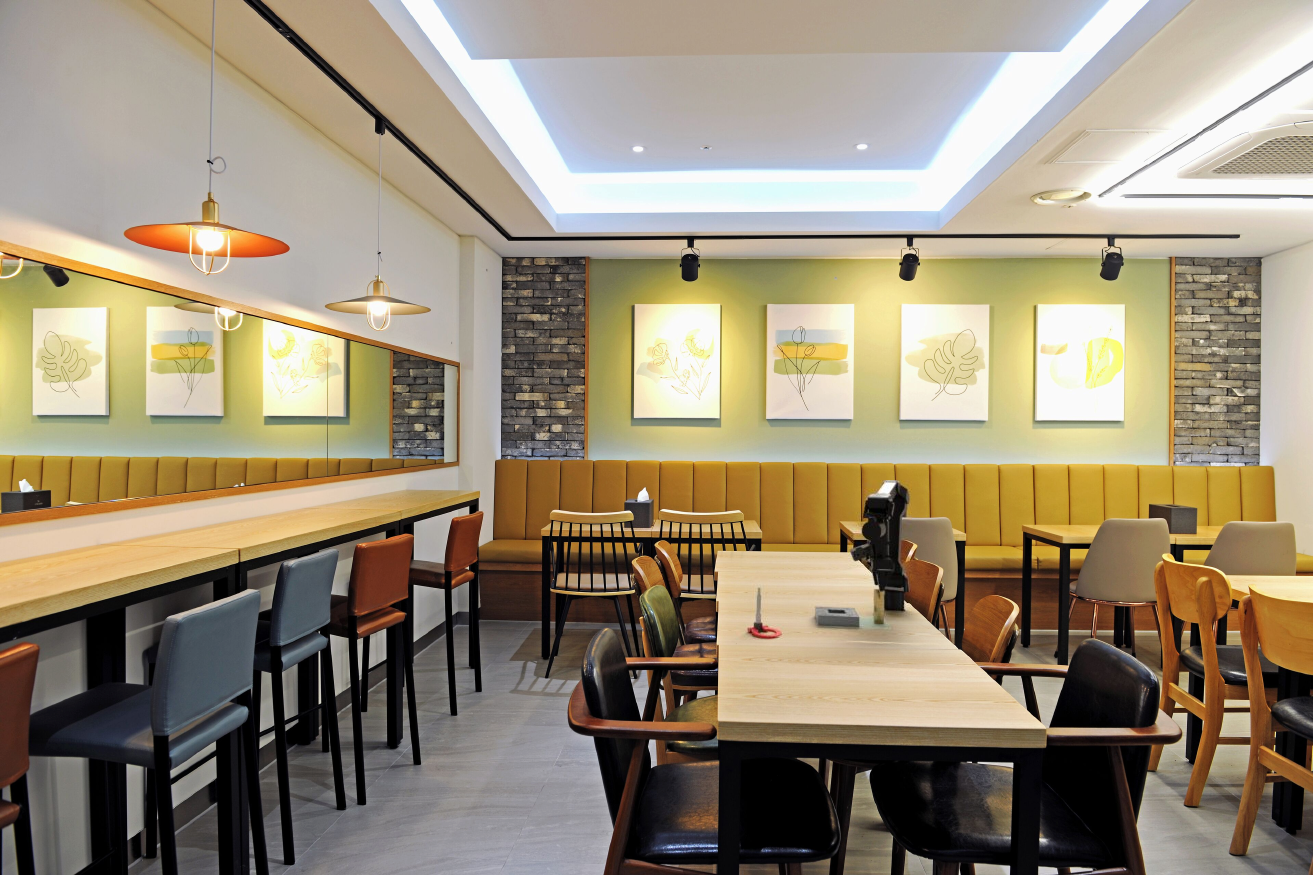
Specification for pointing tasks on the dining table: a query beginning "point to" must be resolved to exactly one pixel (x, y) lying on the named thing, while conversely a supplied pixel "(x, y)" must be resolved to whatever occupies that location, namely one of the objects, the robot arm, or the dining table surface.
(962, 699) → the dining table surface
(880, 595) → the pin
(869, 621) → the mat
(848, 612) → the block
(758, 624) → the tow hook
